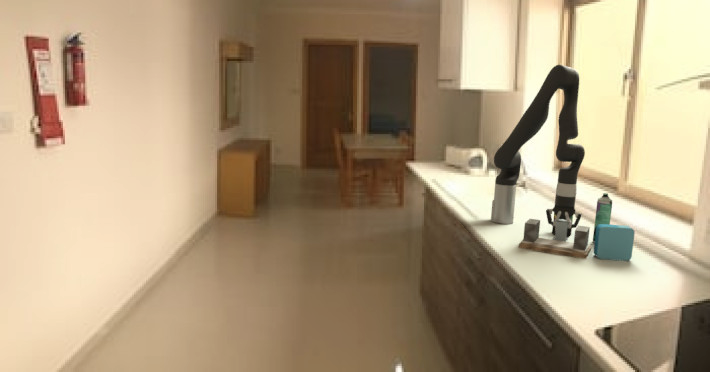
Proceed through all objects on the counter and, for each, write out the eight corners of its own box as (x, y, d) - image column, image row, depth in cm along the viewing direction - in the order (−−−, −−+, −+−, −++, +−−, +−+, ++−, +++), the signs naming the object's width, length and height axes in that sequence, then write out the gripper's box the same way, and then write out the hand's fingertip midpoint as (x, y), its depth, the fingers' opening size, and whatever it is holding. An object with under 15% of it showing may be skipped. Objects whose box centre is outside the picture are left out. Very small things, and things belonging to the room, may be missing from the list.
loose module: (553, 241, 231) (555, 221, 230) (556, 237, 238) (558, 218, 236) (565, 243, 229) (567, 223, 228) (567, 239, 236) (569, 220, 234)
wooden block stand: (518, 247, 220) (520, 223, 218) (526, 239, 232) (528, 217, 230) (586, 258, 209) (588, 233, 207) (590, 249, 221) (593, 226, 219)
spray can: (607, 242, 234) (613, 193, 230) (607, 245, 229) (613, 195, 225) (593, 240, 236) (598, 191, 232) (592, 243, 231) (597, 193, 228)
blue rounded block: (626, 257, 213) (631, 225, 211) (631, 261, 208) (635, 228, 206) (592, 255, 214) (596, 223, 212) (596, 258, 210) (600, 226, 208)
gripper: (545, 193, 230) (541, 235, 233) (583, 198, 224) (578, 241, 227) (548, 190, 237) (544, 231, 240) (586, 195, 230) (581, 237, 233)
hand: (561, 235), depth 233 cm, fingers open, 4 cm apart
